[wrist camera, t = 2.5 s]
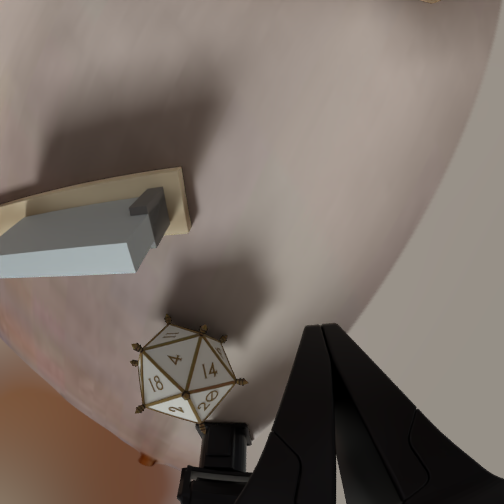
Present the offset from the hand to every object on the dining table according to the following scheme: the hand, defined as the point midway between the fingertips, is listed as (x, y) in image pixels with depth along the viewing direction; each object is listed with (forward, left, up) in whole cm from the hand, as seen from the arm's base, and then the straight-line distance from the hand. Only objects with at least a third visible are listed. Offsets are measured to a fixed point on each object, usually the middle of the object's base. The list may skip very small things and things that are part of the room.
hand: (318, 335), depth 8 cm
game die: (-12, +8, -12) cm, 19 cm away
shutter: (0, +13, -11) cm, 17 cm away
